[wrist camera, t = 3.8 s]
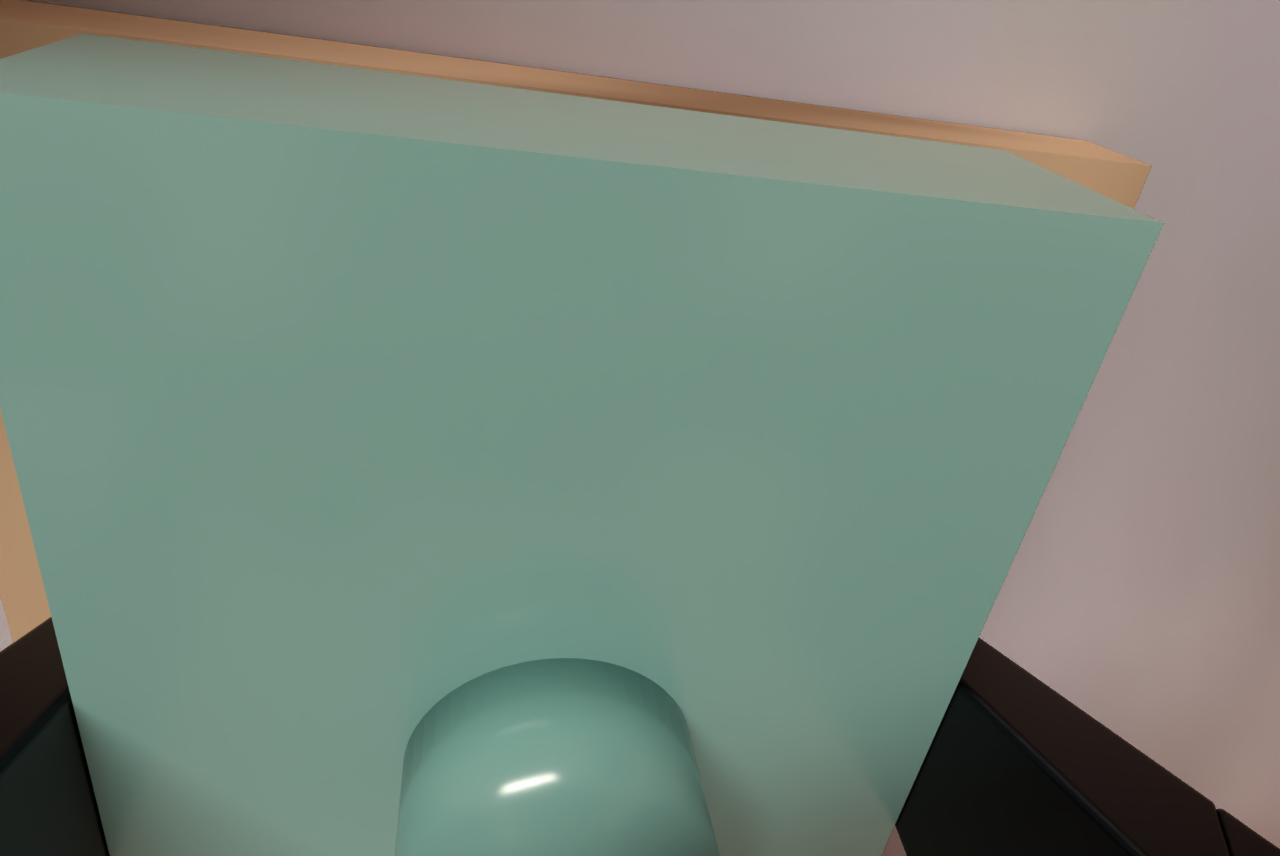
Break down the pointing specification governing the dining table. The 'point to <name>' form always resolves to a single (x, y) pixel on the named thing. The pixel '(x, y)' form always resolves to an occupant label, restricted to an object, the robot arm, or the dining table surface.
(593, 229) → the lid
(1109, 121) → the dining table surface
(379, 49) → the mat
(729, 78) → the dining table surface
